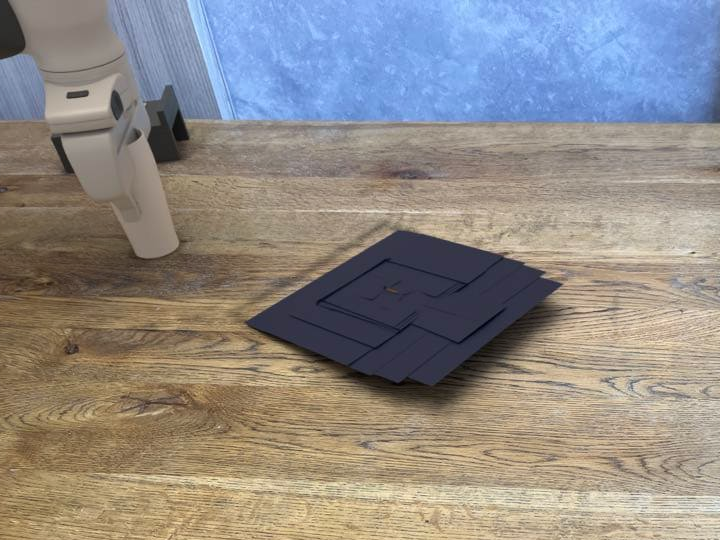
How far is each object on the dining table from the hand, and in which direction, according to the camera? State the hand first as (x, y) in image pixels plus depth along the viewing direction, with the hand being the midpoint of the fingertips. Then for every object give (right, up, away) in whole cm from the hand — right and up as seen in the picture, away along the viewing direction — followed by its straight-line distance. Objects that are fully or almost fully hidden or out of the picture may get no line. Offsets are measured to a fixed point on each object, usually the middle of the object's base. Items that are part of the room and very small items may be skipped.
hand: (140, 200), depth 98 cm
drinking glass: (0, -6, +5) cm, 7 cm away
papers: (+33, -15, -7) cm, 36 cm away
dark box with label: (-14, +13, +26) cm, 32 cm away
